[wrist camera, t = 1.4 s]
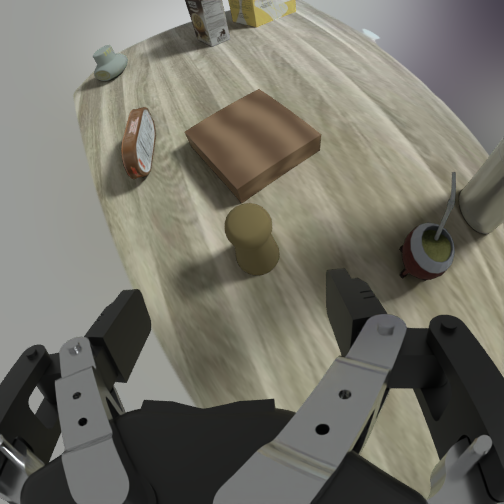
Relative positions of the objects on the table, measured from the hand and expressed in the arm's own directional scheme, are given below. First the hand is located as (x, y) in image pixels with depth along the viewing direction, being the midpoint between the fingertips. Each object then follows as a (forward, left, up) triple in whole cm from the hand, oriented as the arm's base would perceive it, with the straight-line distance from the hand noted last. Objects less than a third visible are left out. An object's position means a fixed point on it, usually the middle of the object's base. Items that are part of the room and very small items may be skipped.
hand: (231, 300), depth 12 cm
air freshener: (-6, -82, -26) cm, 86 cm away
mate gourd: (-22, +5, -26) cm, 35 cm away
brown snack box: (-34, -69, -26) cm, 81 cm away
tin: (-1, -39, -26) cm, 47 cm away
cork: (-5, -10, -26) cm, 28 cm away
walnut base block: (-16, -26, -26) cm, 40 cm away
